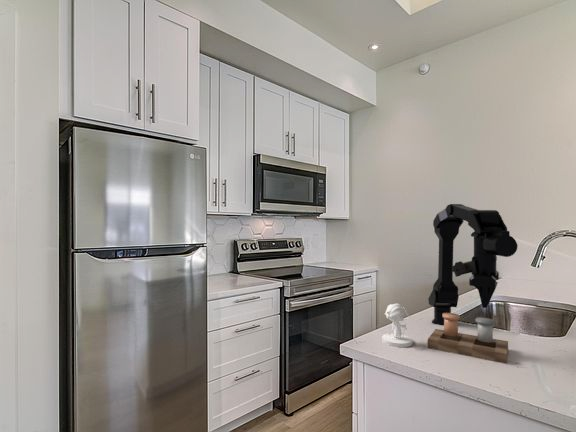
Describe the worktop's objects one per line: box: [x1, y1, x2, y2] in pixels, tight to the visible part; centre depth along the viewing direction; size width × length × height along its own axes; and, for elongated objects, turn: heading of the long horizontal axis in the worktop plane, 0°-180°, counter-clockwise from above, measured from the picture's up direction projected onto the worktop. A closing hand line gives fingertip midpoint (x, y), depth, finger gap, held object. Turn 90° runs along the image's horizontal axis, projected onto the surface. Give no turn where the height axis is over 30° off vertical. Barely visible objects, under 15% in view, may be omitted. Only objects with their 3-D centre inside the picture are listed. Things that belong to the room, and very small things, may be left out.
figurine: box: [381, 303, 414, 348], centre depth 108 cm, size 9×9×12 cm
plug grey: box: [475, 317, 496, 342], centre depth 99 cm, size 5×5×6 cm
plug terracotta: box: [442, 312, 461, 336], centre depth 104 cm, size 5×5×6 cm
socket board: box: [427, 328, 509, 365], centre depth 102 cm, size 12×20×2 cm, turn 56°
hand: (484, 307), depth 100 cm, fingers closed
